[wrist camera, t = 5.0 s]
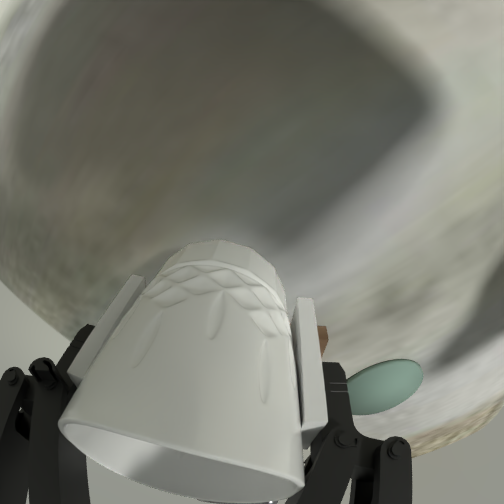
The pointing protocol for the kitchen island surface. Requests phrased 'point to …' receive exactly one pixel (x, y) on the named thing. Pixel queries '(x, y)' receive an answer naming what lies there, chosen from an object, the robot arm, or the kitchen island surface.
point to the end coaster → (383, 386)
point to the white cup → (198, 383)
